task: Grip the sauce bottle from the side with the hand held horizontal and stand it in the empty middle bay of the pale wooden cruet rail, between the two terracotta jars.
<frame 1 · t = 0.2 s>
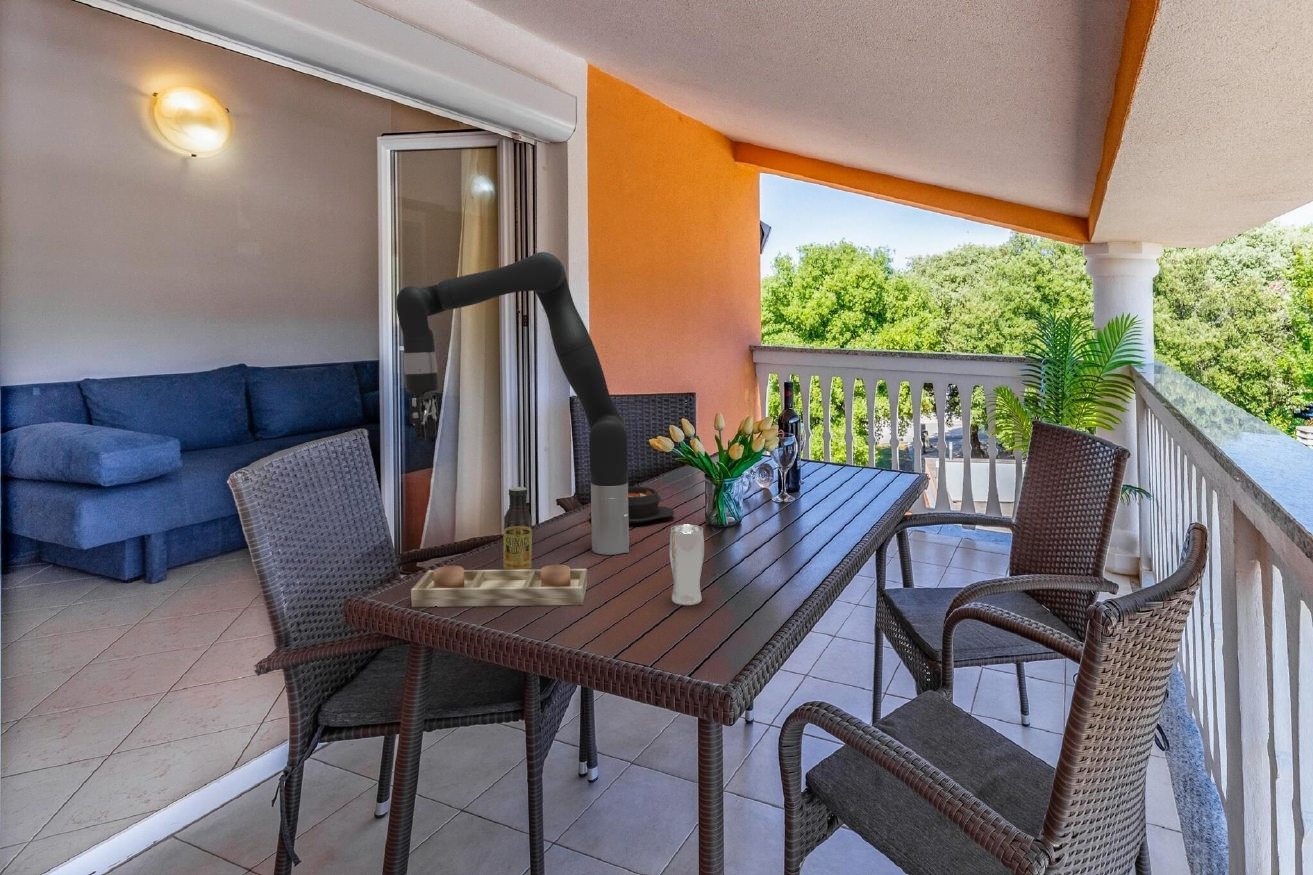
hand: (426, 438, 176), 29 cm above the table, tool pointing down, fingers open, 8 cm apart
beer glass: (686, 601, 148), on the table
casserole: (631, 520, 212), on the table
cruet rail: (503, 595, 151), on the table
sauce bottle: (518, 575, 164), on the table
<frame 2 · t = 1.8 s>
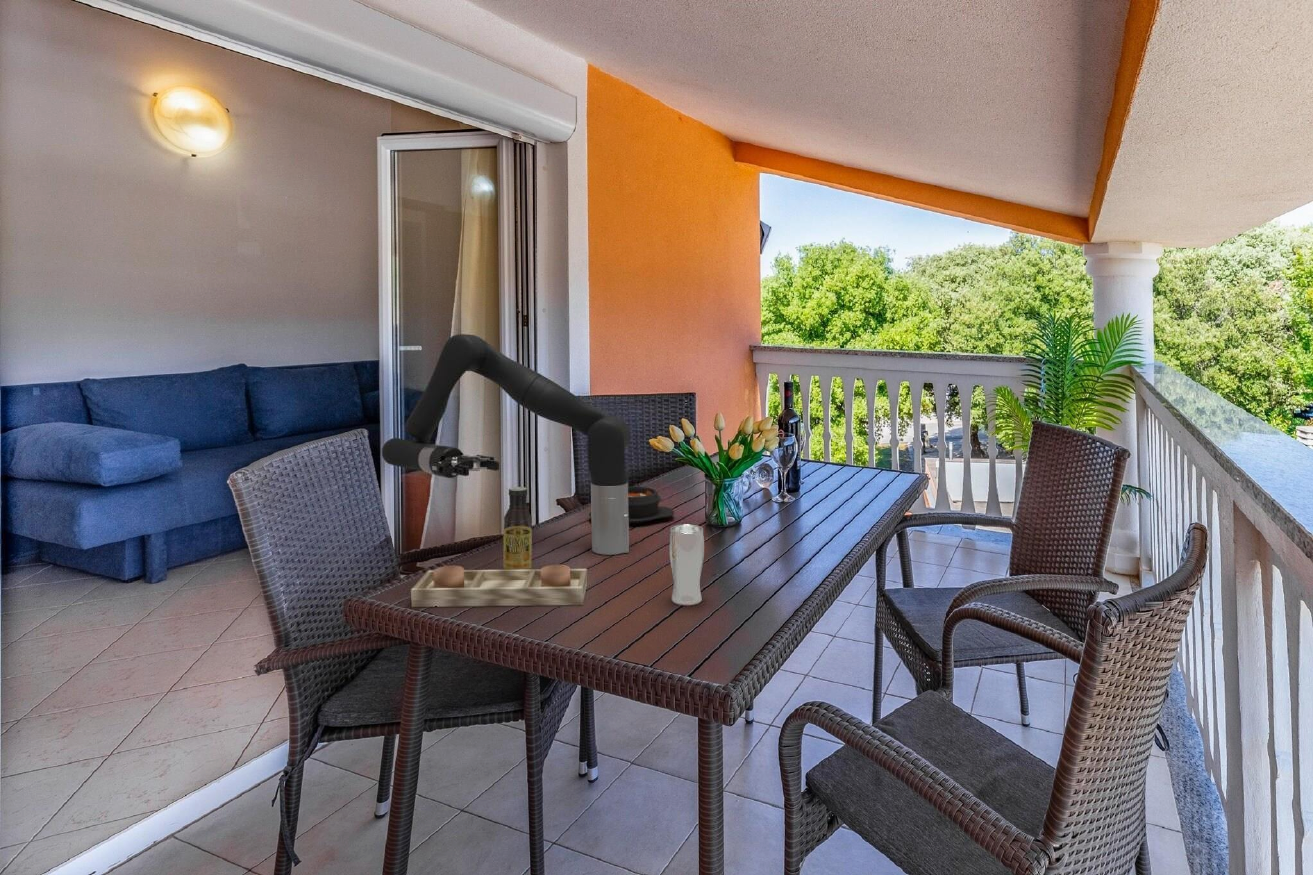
hand: (483, 468, 167), 23 cm above the table, tool horizontal, fingers open, 8 cm apart
nothing on the table moved.
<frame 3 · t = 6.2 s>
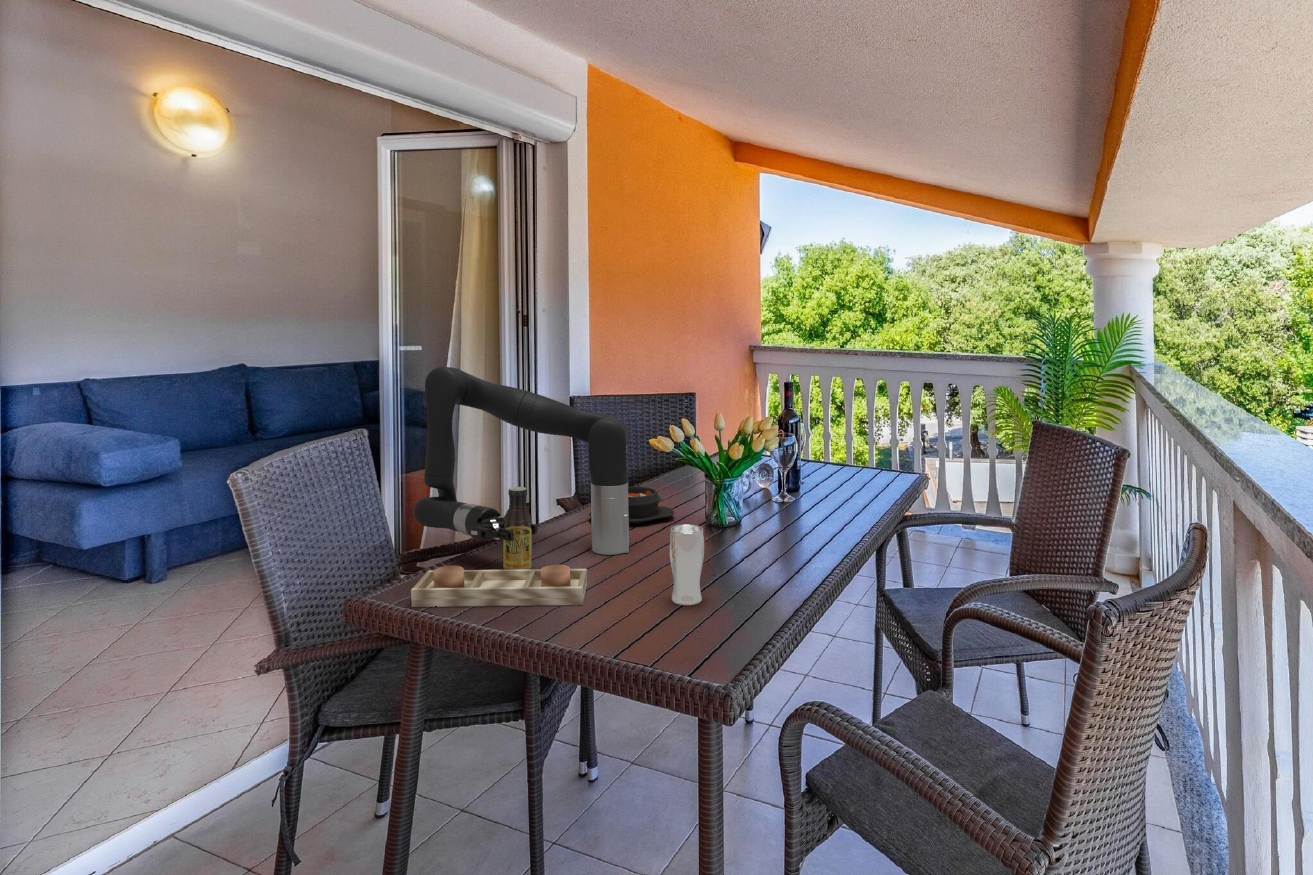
hand: (524, 532, 161), 10 cm above the table, tool horizontal, fingers closed on sauce bottle, 6 cm apart
sauce bottle: (518, 575, 164), on the table, touching gripper
everything else where it was.
when the fingers open (13 cm above the table, at t = 13.5 s): sauce bottle drops 1 cm, resting on cruet rail.
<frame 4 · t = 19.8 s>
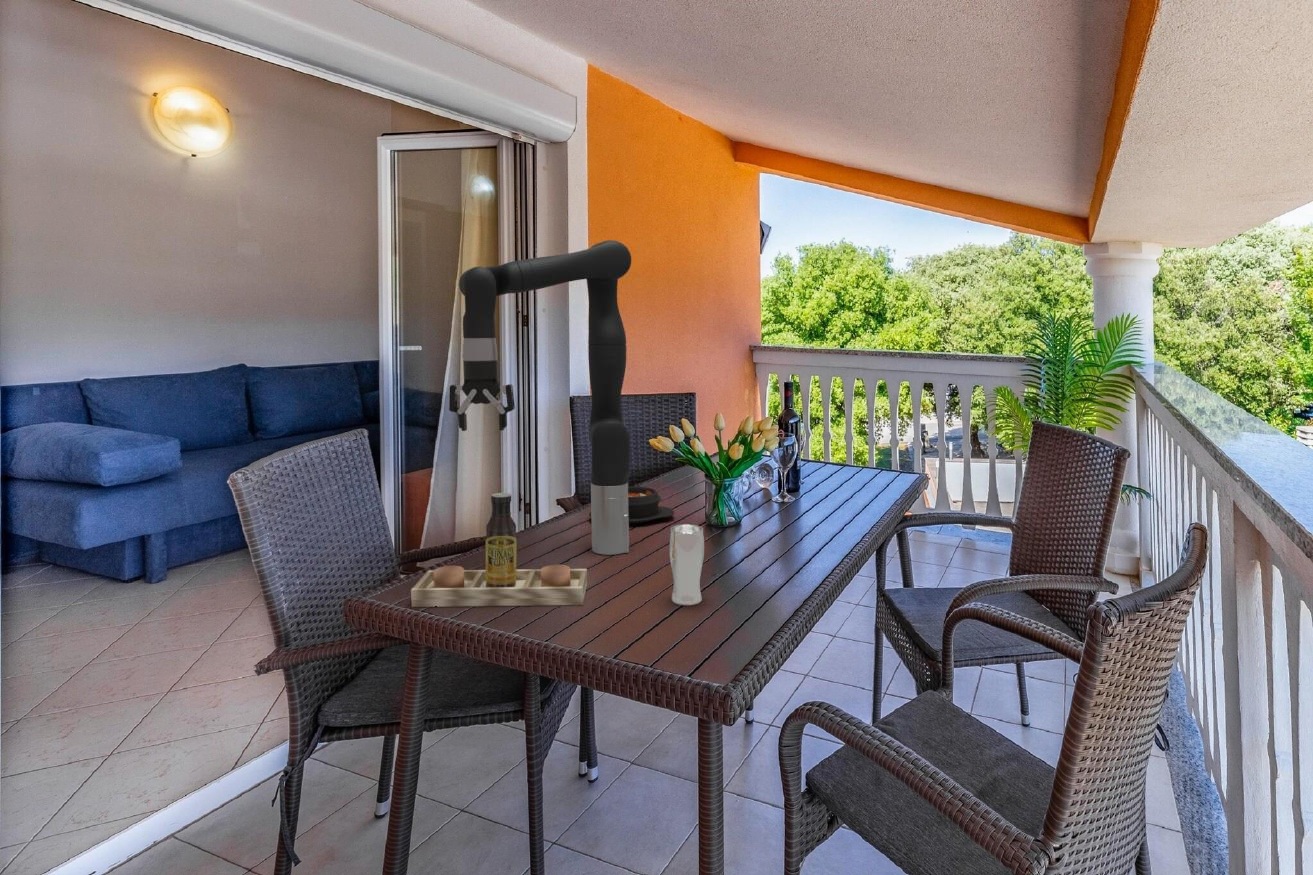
hand: (483, 430, 165), 32 cm above the table, tool pointing down, fingers open, 8 cm apart
sauce bottle: (502, 588, 151), point 1 cm above the table, touching cruet rail
everything else where it was.
at the end: sauce bottle inside the target area on the cruet rail (0.2 cm from its centre), point 1.3 cm above the cruet rail's base; sauce bottle tilted 0°; the gripper is holding nothing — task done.
